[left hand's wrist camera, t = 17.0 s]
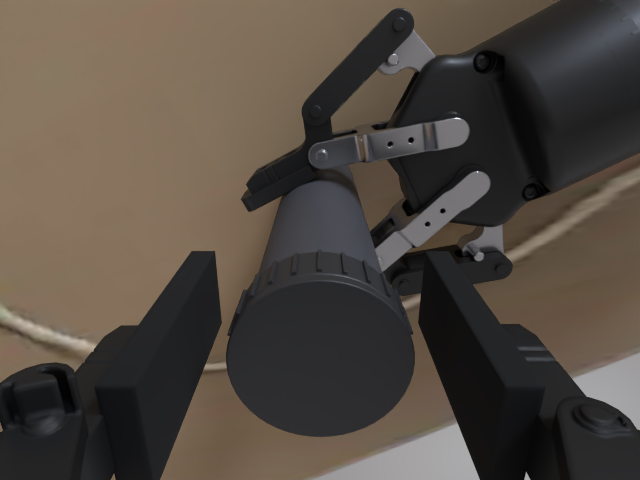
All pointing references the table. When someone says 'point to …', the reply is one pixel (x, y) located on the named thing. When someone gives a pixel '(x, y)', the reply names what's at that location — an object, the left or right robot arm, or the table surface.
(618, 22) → the right robot arm
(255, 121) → the table surface
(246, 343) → the lid
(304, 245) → the dark grey long cylinder
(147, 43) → the table surface
